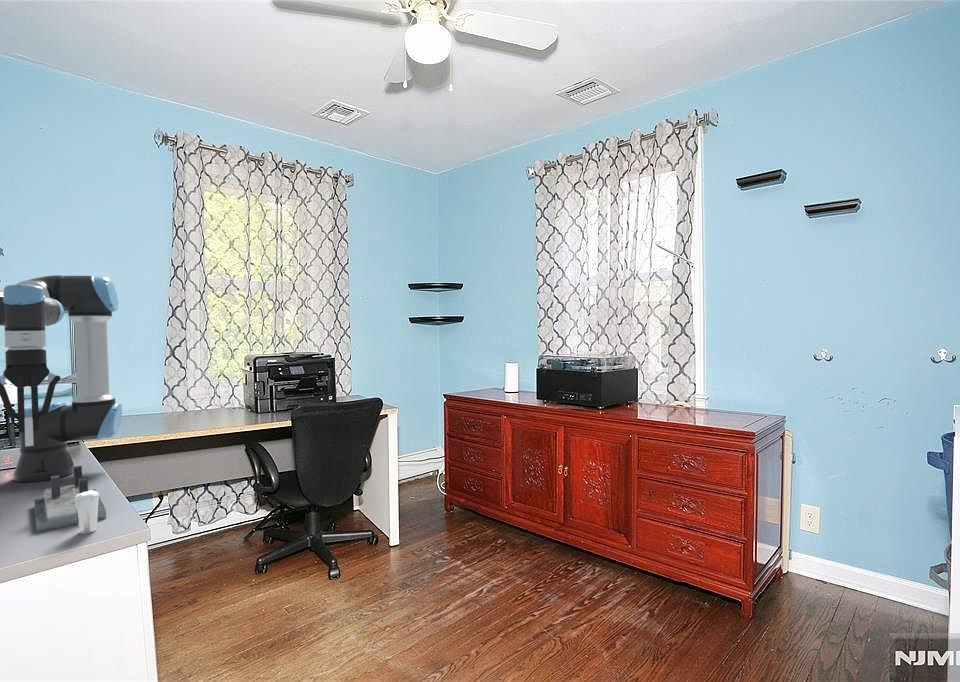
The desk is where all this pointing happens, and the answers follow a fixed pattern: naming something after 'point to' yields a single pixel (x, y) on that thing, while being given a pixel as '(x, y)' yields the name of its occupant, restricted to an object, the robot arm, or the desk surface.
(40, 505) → the breaker panel
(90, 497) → the milkshake
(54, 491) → the breaker
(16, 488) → the desk surface
